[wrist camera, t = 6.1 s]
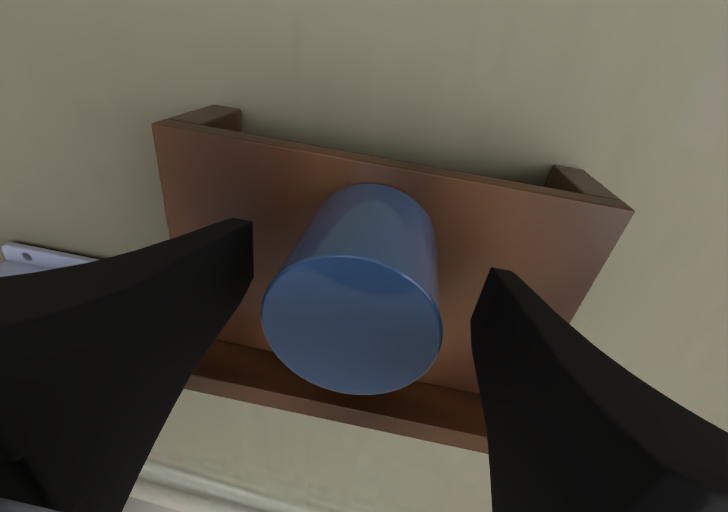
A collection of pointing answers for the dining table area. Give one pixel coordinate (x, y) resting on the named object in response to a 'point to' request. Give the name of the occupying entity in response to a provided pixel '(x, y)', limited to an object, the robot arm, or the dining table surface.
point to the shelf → (454, 251)
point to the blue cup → (358, 294)
